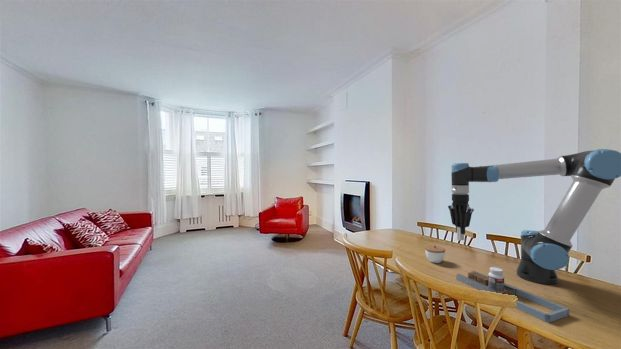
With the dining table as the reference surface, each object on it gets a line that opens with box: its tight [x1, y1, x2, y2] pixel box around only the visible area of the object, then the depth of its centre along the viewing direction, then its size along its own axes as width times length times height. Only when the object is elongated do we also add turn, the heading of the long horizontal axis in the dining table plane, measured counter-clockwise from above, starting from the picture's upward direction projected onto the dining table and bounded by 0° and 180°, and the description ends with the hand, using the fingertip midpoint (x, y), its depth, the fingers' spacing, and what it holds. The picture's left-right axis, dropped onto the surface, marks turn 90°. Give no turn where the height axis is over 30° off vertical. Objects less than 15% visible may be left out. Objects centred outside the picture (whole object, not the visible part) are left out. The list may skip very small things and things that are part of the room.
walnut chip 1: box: [467, 271, 482, 281], centre depth 120 cm, size 4×4×4 cm
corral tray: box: [515, 287, 570, 324], centre depth 97 cm, size 17×12×2 cm
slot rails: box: [455, 270, 518, 296], centre depth 115 cm, size 20×12×2 cm, turn 19°
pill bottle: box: [487, 266, 505, 294], centre depth 110 cm, size 6×6×10 cm
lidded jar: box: [424, 244, 446, 264], centre depth 147 cm, size 11×11×9 cm
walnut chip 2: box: [477, 274, 488, 286], centre depth 116 cm, size 4×4×4 cm
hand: (460, 239), depth 126 cm, fingers closed
